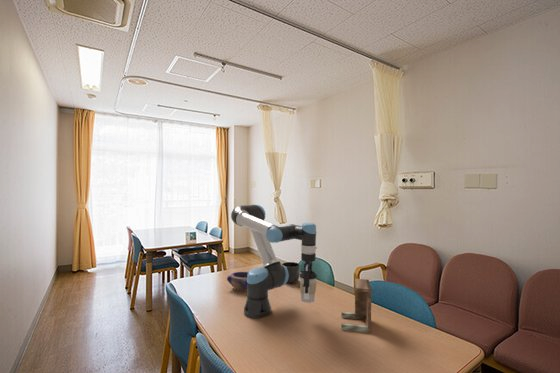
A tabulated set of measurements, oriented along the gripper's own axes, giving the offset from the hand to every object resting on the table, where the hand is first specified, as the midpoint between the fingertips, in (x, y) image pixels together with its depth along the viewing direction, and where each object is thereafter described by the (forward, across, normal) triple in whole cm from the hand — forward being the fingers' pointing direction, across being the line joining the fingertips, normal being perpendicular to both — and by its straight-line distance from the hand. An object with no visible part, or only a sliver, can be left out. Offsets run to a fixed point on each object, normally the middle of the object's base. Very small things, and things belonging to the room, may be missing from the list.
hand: (307, 295), depth 147 cm
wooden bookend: (+12, +1, -24) cm, 27 cm away
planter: (+14, +56, +19) cm, 61 cm away
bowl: (+14, +36, +49) cm, 63 cm away
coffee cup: (+3, 0, 0) cm, 3 cm away
